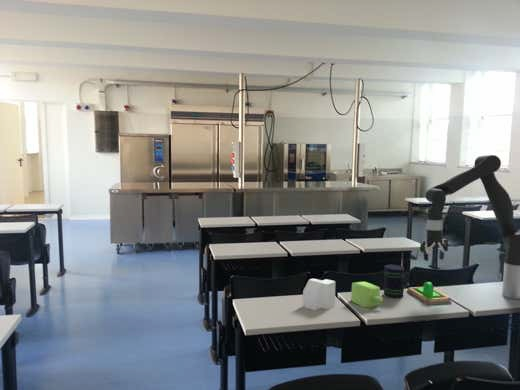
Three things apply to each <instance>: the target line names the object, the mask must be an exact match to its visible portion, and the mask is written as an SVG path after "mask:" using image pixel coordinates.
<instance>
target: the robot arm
mask: <svg viewBox="0 0 520 390" xmlns="http://www.w3.org/2000/svg"><path fill="white" fill-rule="evenodd" d="M473 164H474V166H473V167H472V168H469V169H468V170H465V171H462V172H461V173H458V174H456V175H454V176H452V177H451V178H449V179H447V180H446V181H444V182H443V183H440V184H437V185H435V186H433V187H431V188H429V189H428V190H427V191H426V192H425V196H424V197H425V200H427V201H428V202H429V203H431V207H428V209H427V213H426V214H427V216H426V218H427V219H426V232H425V233H426V240H423V239H421V240H420V245H419V252H421V253H422V254H423V260H424V261H426V262H428V261H429V252H430V251H431V250H432V249H433V250H434V249H437V250H438V251H439V253H438V254H439V255H438V257H439V258H438V259H439V260H442V261H443V260H444V257H445V252H448V251H449V242H448V241H449V240H448V239H446V238H443V232H444V230H443V228H444V227H443V226H444V225H443V222H444V221H443V211H444V209H445V205H446V201H447V195H453V194H455V193H457V192H458V191H460V190H461V189H463V188H465V187H467V186H468V185H471V184H472V183H474V182H475V181H477V180H478V179H480V181H481V183H482V185H483V187H484V191H485V193H486V195H487V198H488V201H489V204H490V207H491V210H492V212H493V214H494V216H495V219H496V221H497V223H498V227H499V230H500V234H501V237H502V242H503V243H504V245H505V246H506V247H507V248H508V253H507V255H506V256H504V261H503V278H502V279H503V280H502V293H501V295H502V296H503V297H505V298H508V299H514V300H515V299H516V300H520V231H519V230H518V228H517V226H516V223H515V219H514V205H513V202H512V200H511V197H510V195H509V193H508V191H507V190H506V189H505V188H504V187H503V185H502V184H501V183H500V182H499V180H498V179H497V176H496V175H495V173H496V172H497V171H498V170H500V168H501V167H502V161H501V159H500V157H499V156H497V155H495V154H485V155H480V156H478V157H476V159H475V160H474V163H473Z"/></svg>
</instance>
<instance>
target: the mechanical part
mask: <svg viewBox="0 0 520 390" xmlns="http://www.w3.org/2000/svg"><path fill="white" fill-rule="evenodd" d="M423 287H424V288H417V292H418V293H420V294H422V295H424V296H425V297H427V298H440V295H439V294H437V293H435V292H434V291H433V289H434V285H433V283H432V282H430V281H424V282H423Z"/></svg>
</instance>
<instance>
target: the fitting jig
mask: <svg viewBox="0 0 520 390" xmlns="http://www.w3.org/2000/svg"><path fill="white" fill-rule="evenodd" d="M417 288H424V286H416V287H413V286H412V287H408V288H407V290H406V292H407V293H408V294H411V295H412V296H413V297H415V298H416V299H419V300H421V302H423V303H425V304H426V305H428V306H434V305H436V306H437V305H449V304H451V305H452V301H451V297H450V296H447V295H446V294H444V293H443V292H440V291H438V290H436V289H435V288H433V291H434V292H435V293H437V294H439V295H440V298H427V297H425V296H424V295H422V294H420V293H418V292H417Z"/></svg>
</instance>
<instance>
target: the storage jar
mask: <svg viewBox="0 0 520 390" xmlns="http://www.w3.org/2000/svg"><path fill="white" fill-rule="evenodd" d="M383 272H384V274H383V277H384V283H383V296H384V295H385V296H384V297H387V298H389V299H402V298H403V297H404V293H405V291H404V288H405V286H404V279H405V267H404V266H402V265H400V264H386V265H384V271H383Z"/></svg>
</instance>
